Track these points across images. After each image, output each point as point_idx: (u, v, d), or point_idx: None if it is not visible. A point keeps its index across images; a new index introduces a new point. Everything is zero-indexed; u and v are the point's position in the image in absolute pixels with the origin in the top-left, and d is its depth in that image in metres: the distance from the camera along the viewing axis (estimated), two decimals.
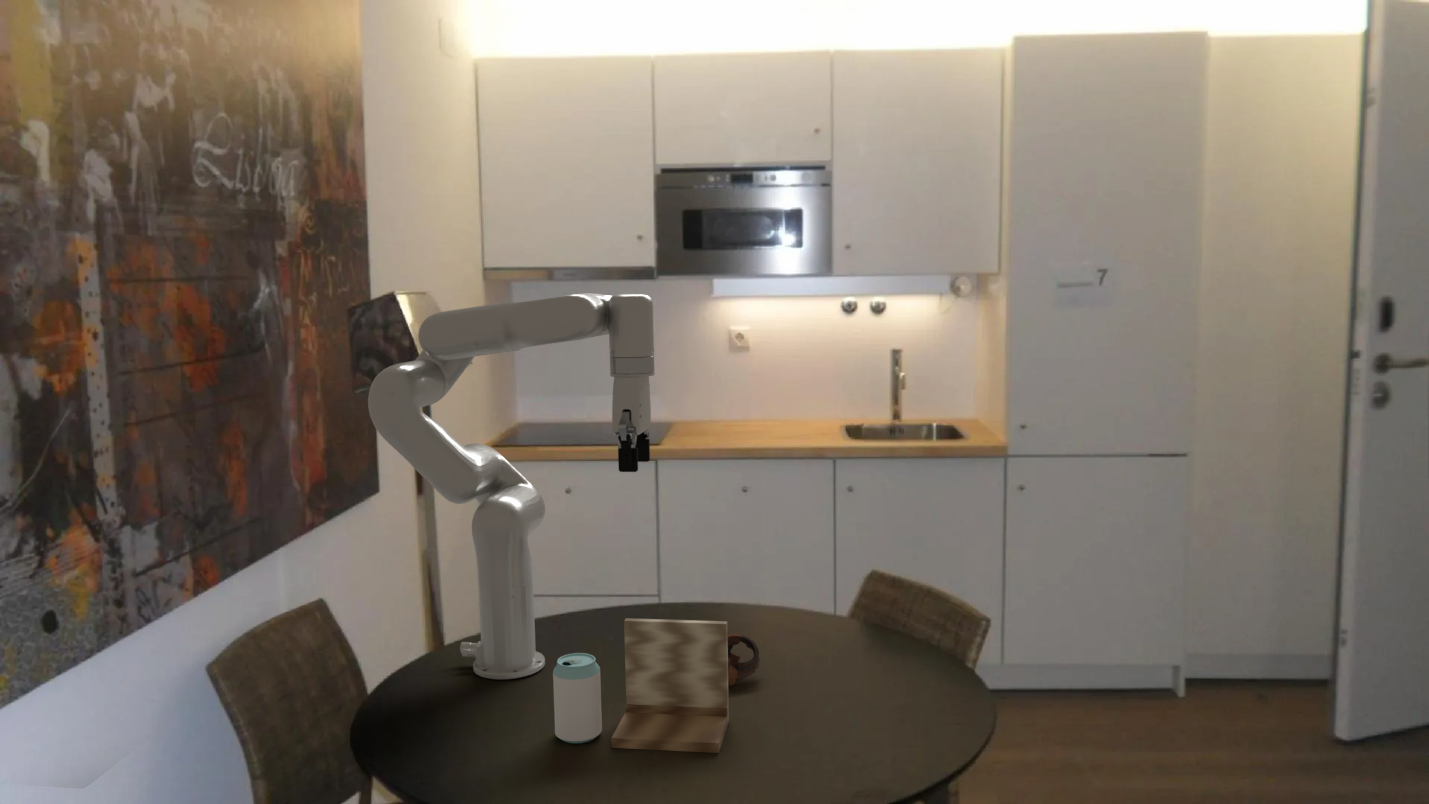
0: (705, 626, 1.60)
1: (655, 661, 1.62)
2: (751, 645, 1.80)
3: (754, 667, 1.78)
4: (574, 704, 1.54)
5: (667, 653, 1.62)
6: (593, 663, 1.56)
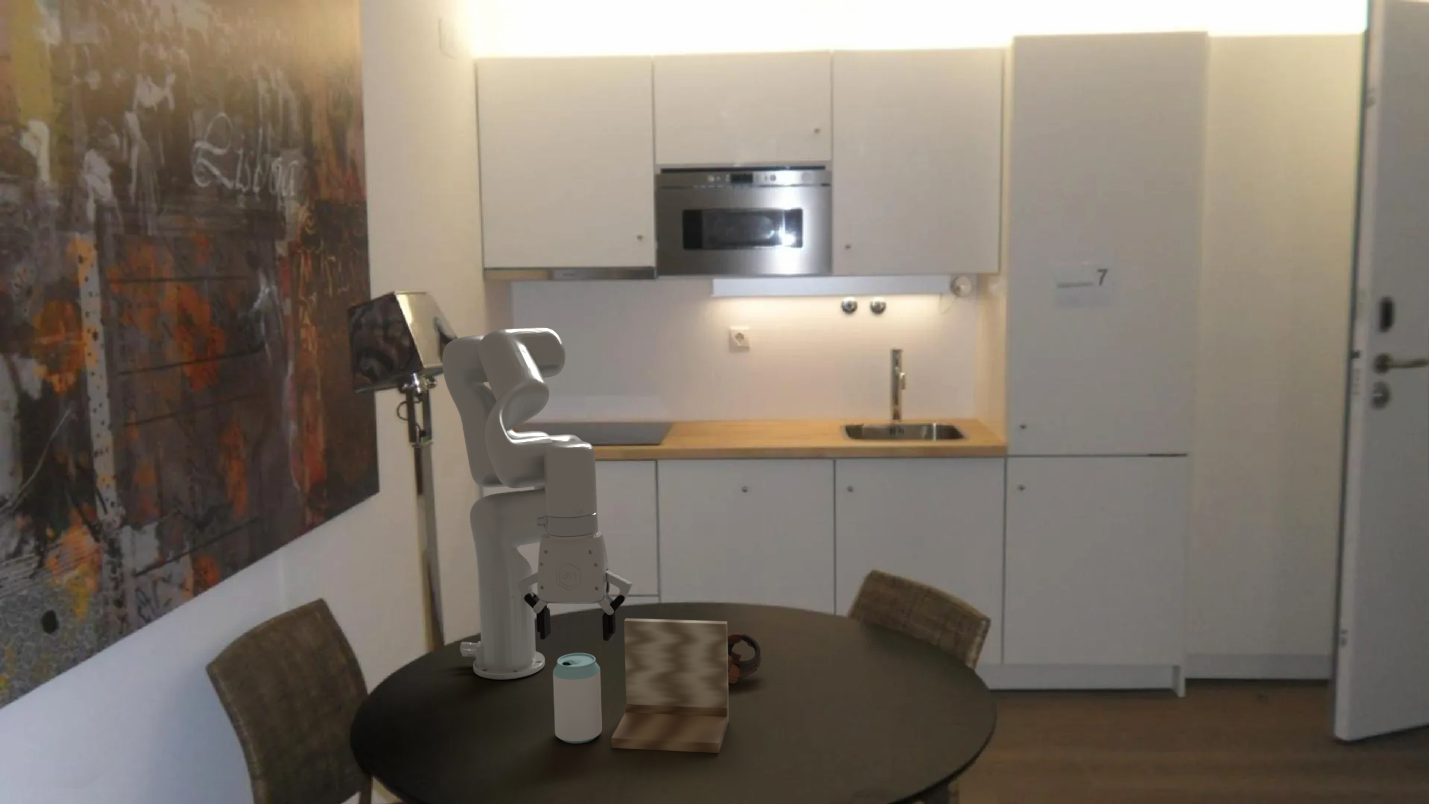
0: (705, 626, 1.60)
1: (655, 661, 1.62)
2: (753, 643, 1.81)
3: (756, 665, 1.79)
4: (574, 704, 1.54)
5: (667, 653, 1.62)
6: (593, 663, 1.56)
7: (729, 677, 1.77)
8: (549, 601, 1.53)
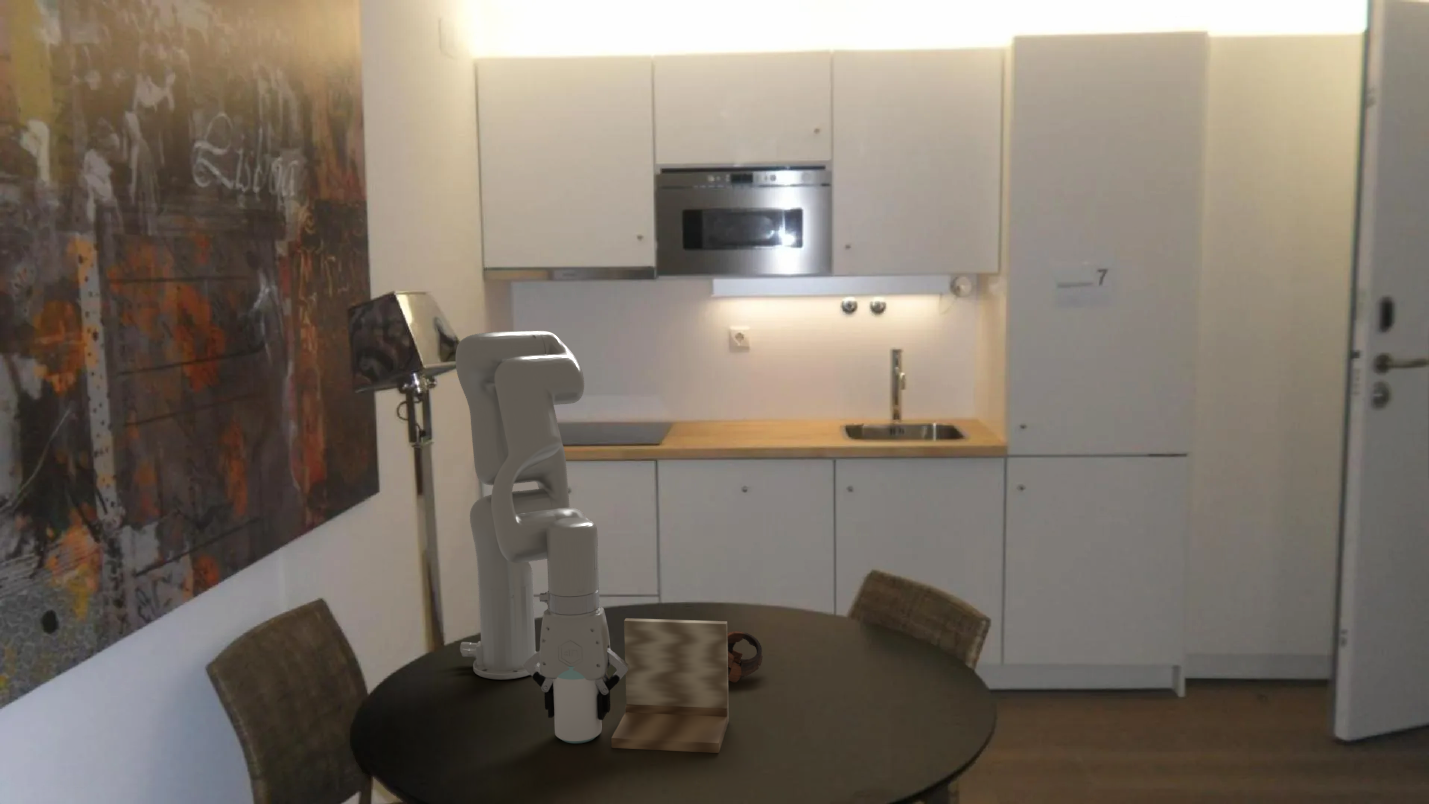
0: (705, 626, 1.60)
1: (655, 661, 1.62)
2: (754, 642, 1.82)
3: (757, 664, 1.80)
4: (574, 704, 1.54)
5: (667, 653, 1.62)
6: None
7: (731, 676, 1.78)
8: (551, 677, 1.55)
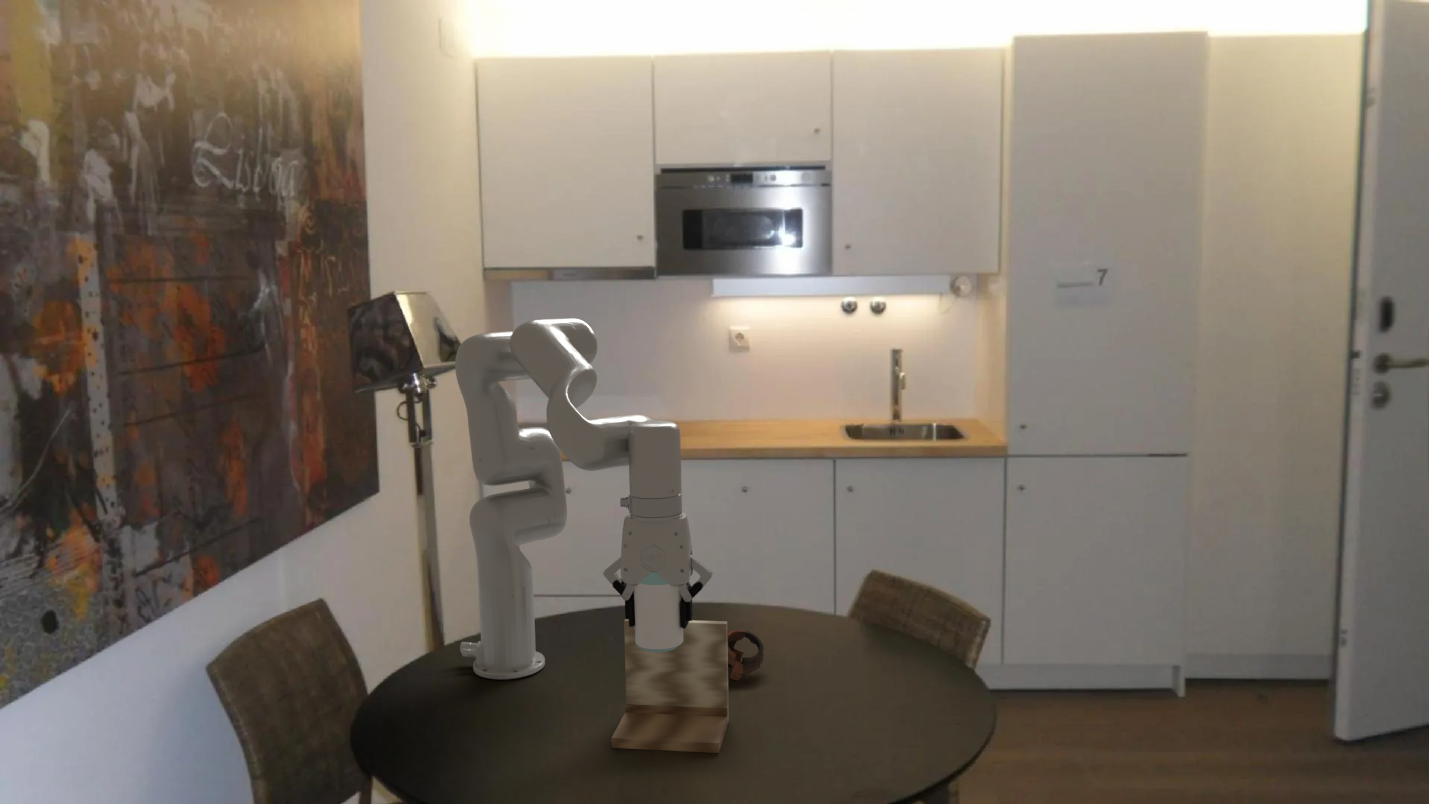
0: (705, 626, 1.60)
1: (655, 661, 1.62)
2: (755, 640, 1.83)
3: (759, 662, 1.80)
4: (657, 611, 1.50)
5: (667, 653, 1.62)
6: None
7: (733, 674, 1.79)
8: (633, 583, 1.50)
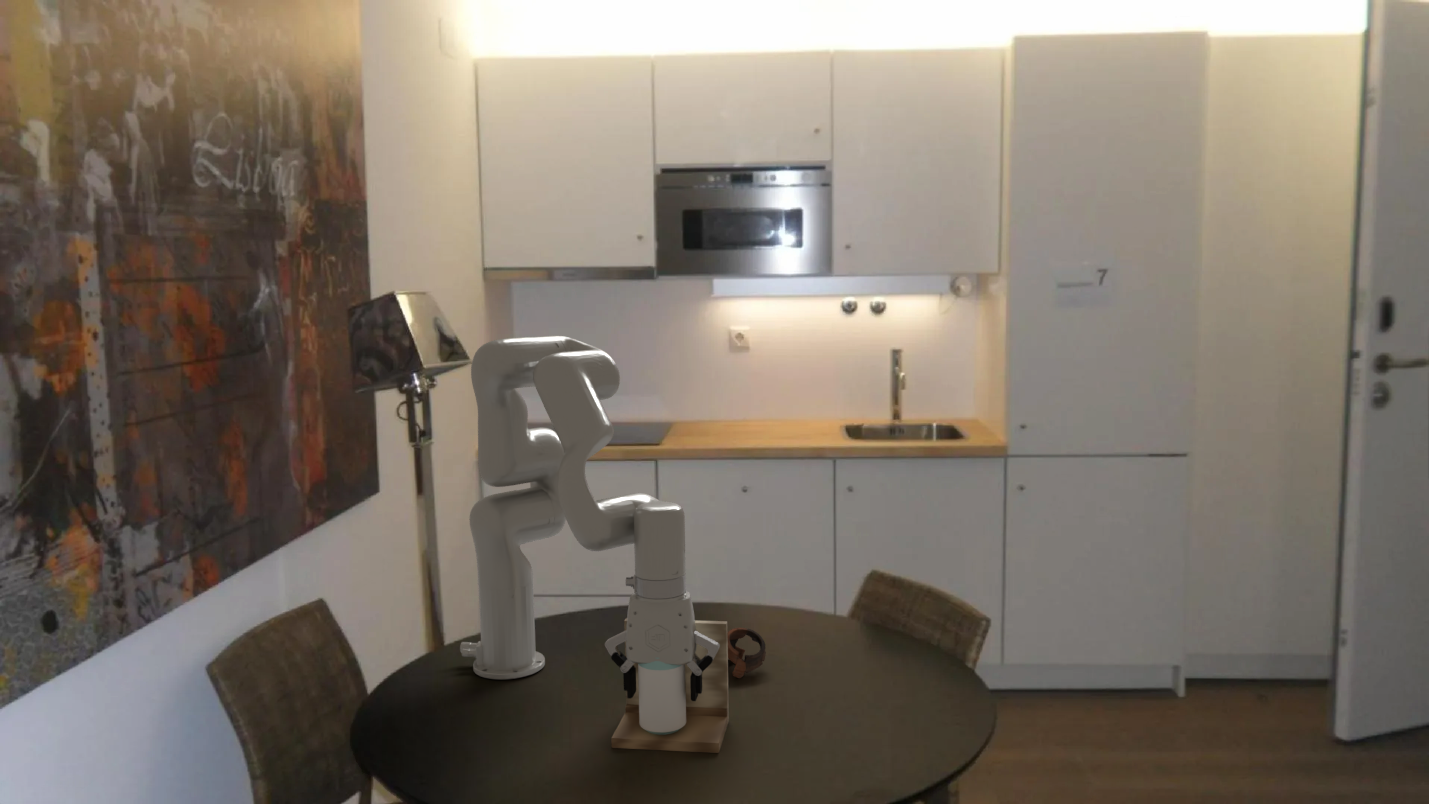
0: (705, 626, 1.60)
1: None
2: (757, 638, 1.84)
3: (761, 659, 1.81)
4: (660, 695, 1.53)
5: None
6: None
7: (735, 671, 1.80)
8: (638, 662, 1.54)
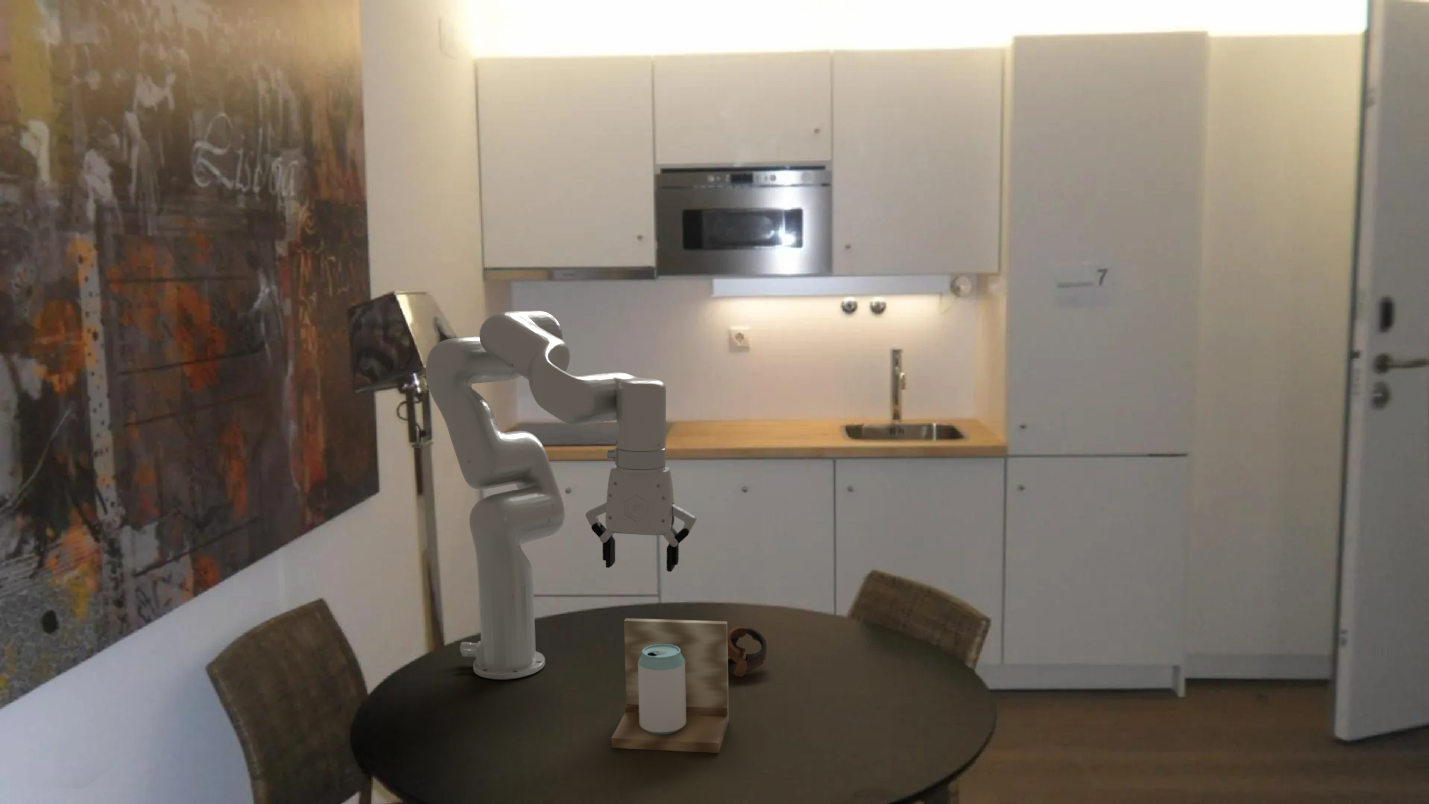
0: (705, 626, 1.60)
1: None
2: (758, 637, 1.84)
3: (762, 658, 1.82)
4: (660, 695, 1.53)
5: None
6: (679, 654, 1.55)
7: (737, 670, 1.80)
8: (616, 531, 1.59)
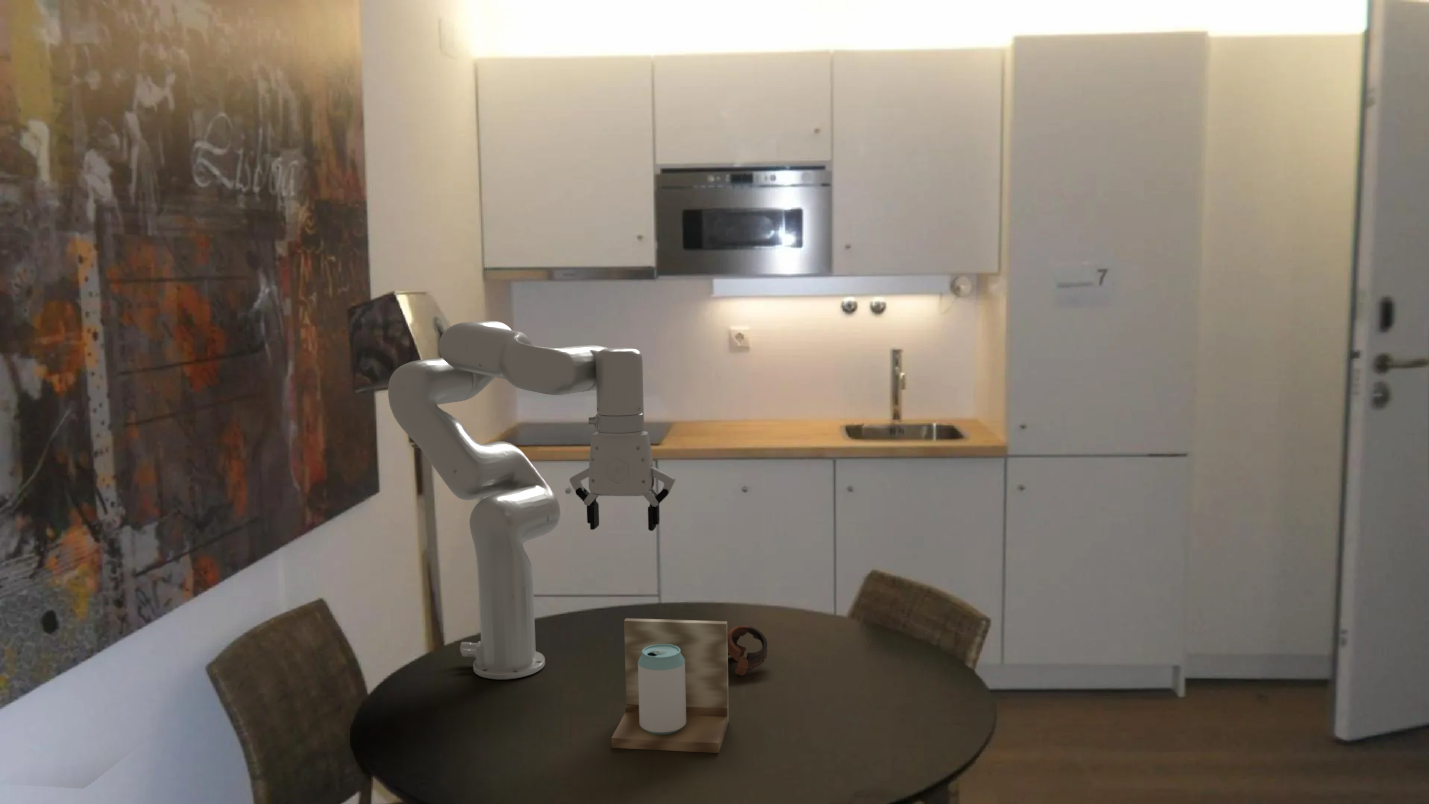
0: (705, 626, 1.60)
1: None
2: (759, 636, 1.85)
3: (763, 657, 1.83)
4: (660, 695, 1.53)
5: None
6: (679, 654, 1.55)
7: (738, 669, 1.81)
8: (599, 493, 1.67)
